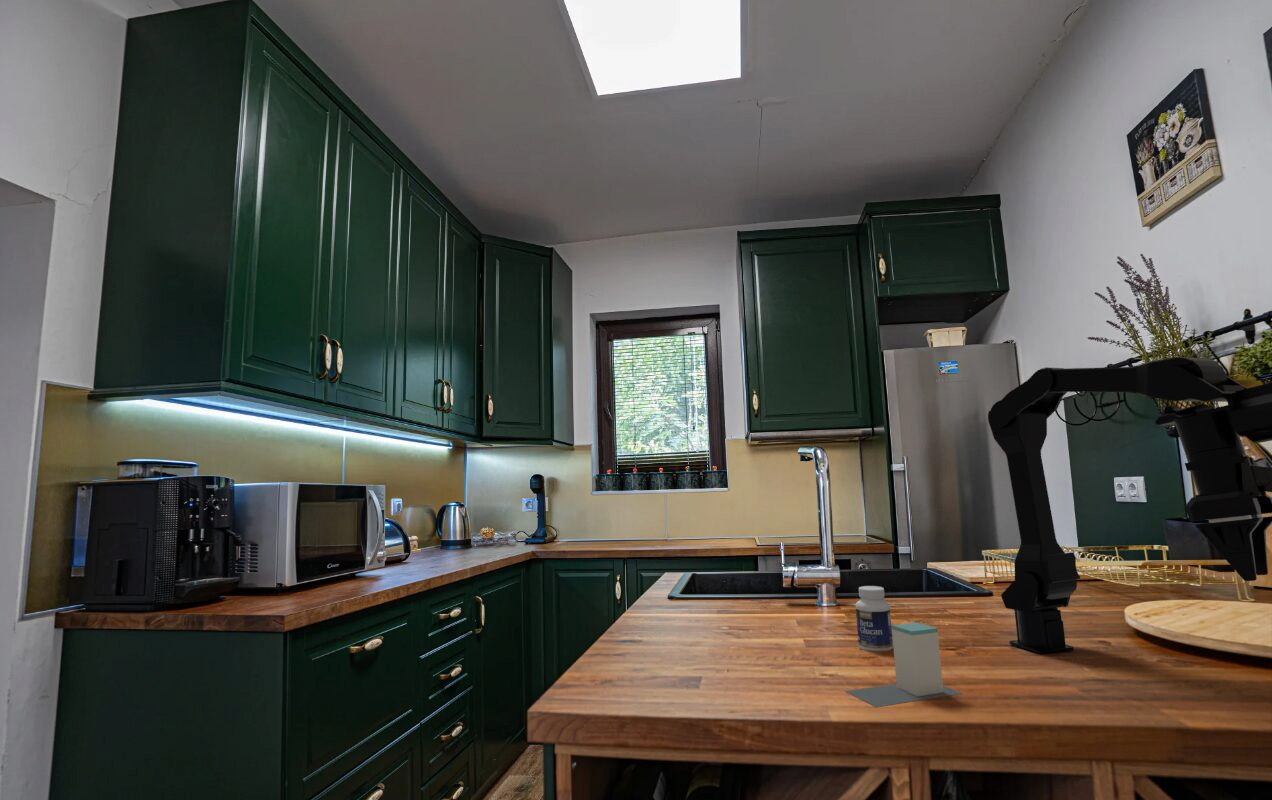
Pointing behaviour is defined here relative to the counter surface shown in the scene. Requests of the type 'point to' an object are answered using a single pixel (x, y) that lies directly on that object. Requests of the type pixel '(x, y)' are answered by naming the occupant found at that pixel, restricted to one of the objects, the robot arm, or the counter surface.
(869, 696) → the slate mat
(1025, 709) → the counter surface
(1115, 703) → the counter surface
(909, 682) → the cream block
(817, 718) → the counter surface
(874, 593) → the pill bottle
